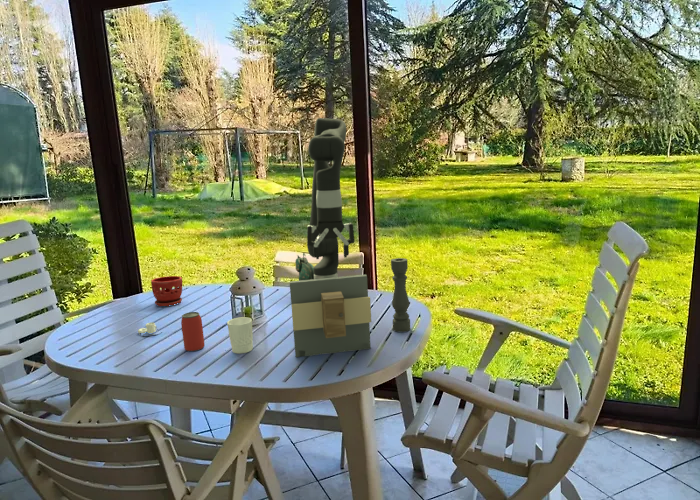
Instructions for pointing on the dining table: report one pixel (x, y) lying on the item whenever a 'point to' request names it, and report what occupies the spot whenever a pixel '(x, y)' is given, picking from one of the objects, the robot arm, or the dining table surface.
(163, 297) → the plant pot
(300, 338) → the wall board
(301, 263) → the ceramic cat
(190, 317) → the beer can
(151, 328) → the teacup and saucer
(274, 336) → the dining table surface
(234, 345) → the white cup
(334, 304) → the cabinet
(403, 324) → the candle holder
